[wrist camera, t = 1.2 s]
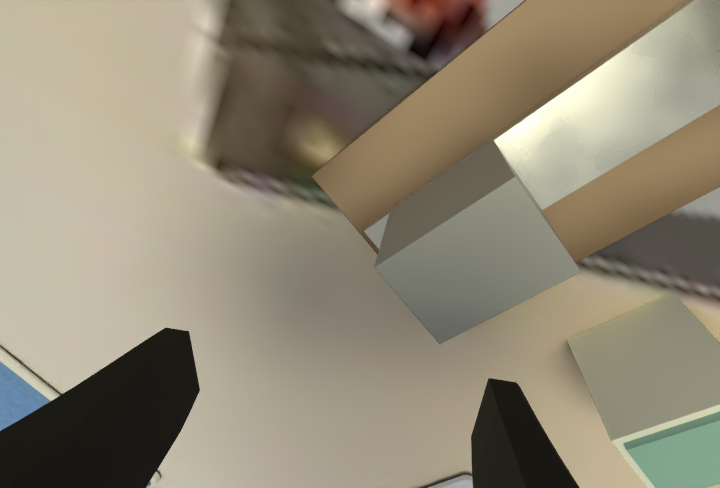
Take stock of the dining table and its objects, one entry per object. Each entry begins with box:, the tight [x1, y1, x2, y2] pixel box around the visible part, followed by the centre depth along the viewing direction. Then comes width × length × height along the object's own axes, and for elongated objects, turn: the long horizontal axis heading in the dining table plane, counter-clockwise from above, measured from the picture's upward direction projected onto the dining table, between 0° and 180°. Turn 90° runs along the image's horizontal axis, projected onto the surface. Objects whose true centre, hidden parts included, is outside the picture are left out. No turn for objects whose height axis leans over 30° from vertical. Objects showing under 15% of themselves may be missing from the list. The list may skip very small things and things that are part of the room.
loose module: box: [567, 292, 720, 488], centre depth 17 cm, size 4×5×6 cm
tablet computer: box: [0, 347, 160, 488], centre depth 32 cm, size 19×13×1 cm, turn 41°
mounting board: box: [312, 0, 720, 262], centre depth 16 cm, size 10×22×1 cm, turn 130°
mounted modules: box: [374, 140, 581, 344], centre depth 12 cm, size 4×18×5 cm, turn 130°
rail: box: [364, 0, 720, 249], centre depth 15 cm, size 4×21×1 cm, turn 130°
